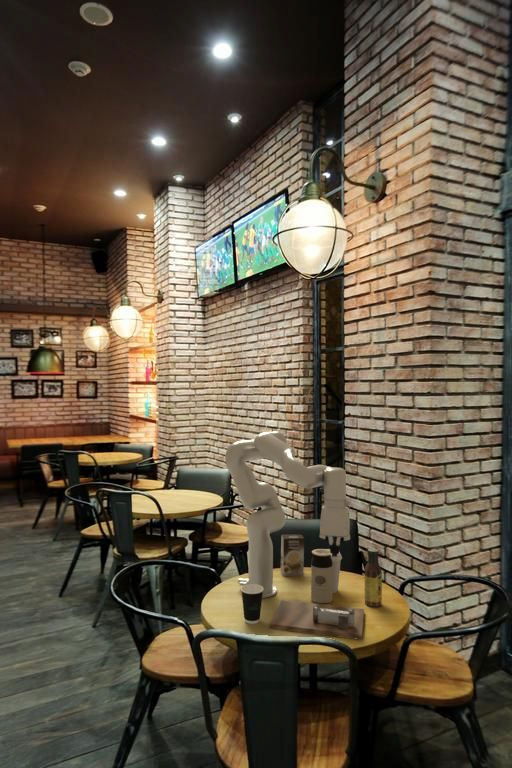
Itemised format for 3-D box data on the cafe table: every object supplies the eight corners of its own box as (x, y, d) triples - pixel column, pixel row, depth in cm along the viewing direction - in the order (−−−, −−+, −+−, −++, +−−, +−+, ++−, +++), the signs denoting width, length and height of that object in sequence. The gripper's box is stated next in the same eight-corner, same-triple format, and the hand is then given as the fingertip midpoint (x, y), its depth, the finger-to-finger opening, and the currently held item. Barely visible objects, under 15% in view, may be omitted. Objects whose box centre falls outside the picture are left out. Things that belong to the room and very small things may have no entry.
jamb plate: (269, 628, 168) (269, 610, 168) (281, 604, 188) (281, 587, 188) (361, 639, 161) (361, 620, 161) (363, 613, 180) (364, 596, 180)
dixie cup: (249, 613, 179) (250, 582, 180) (268, 619, 175) (268, 587, 175) (235, 621, 173) (235, 589, 173) (254, 628, 168) (254, 594, 168)
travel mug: (316, 593, 197) (316, 547, 198) (335, 598, 193) (335, 550, 194) (307, 601, 191) (307, 552, 191) (327, 605, 186) (327, 556, 187)
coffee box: (282, 576, 216) (283, 538, 216) (280, 571, 222) (280, 534, 222) (304, 575, 217) (304, 538, 217) (300, 570, 223) (301, 533, 223)
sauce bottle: (382, 608, 184) (382, 553, 185) (364, 606, 186) (364, 552, 186) (381, 601, 191) (381, 548, 191) (364, 599, 192) (364, 547, 192)
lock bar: (354, 624, 167) (354, 609, 167) (354, 627, 165) (354, 612, 165) (313, 619, 171) (313, 604, 171) (312, 622, 169) (312, 606, 169)
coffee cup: (345, 588, 203) (345, 551, 203) (335, 596, 195) (336, 557, 195) (323, 583, 208) (323, 547, 208) (313, 591, 200) (313, 553, 200)
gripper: (357, 502, 180) (356, 554, 180) (315, 499, 184) (314, 550, 184) (356, 506, 173) (355, 561, 173) (312, 504, 177) (312, 557, 176)
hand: (334, 555), depth 178 cm, fingers closed
